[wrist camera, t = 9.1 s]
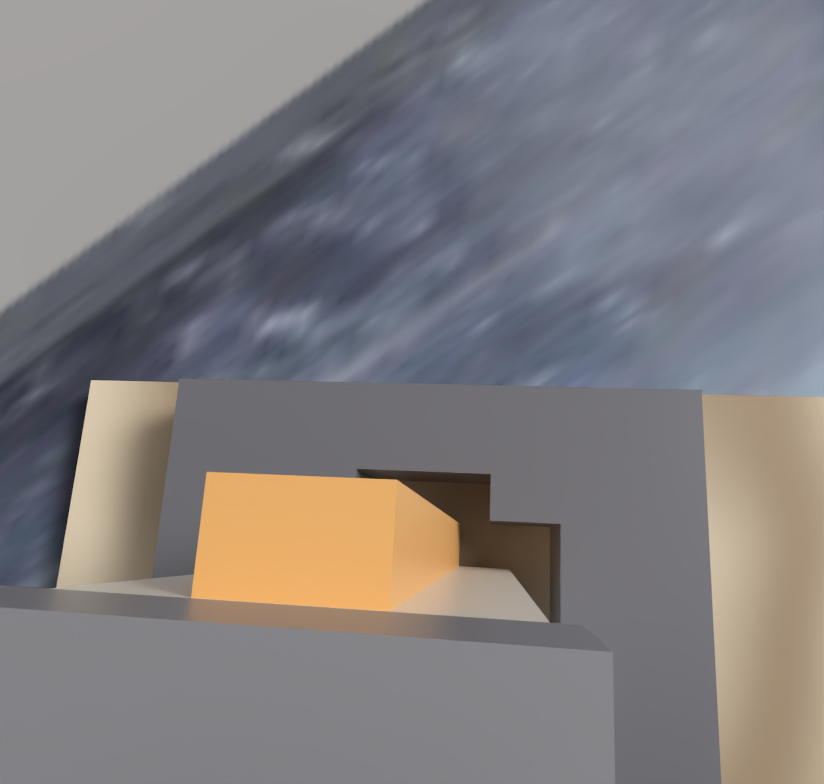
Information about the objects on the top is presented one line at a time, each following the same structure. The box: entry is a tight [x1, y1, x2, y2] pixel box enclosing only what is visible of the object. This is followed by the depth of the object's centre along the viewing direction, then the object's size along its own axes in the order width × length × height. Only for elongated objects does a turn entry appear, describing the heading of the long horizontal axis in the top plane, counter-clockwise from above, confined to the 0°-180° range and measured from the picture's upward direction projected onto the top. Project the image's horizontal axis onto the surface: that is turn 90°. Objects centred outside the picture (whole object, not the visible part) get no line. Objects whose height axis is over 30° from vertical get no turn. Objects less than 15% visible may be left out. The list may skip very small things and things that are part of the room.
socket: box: [152, 379, 721, 784], centre depth 15 cm, size 12×12×2 cm
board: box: [56, 380, 824, 784], centre depth 16 cm, size 20×14×1 cm
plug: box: [0, 472, 615, 784], centre depth 9 cm, size 4×5×13 cm
